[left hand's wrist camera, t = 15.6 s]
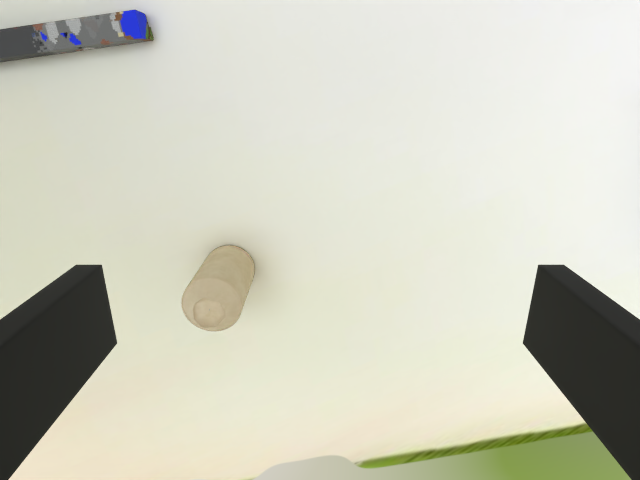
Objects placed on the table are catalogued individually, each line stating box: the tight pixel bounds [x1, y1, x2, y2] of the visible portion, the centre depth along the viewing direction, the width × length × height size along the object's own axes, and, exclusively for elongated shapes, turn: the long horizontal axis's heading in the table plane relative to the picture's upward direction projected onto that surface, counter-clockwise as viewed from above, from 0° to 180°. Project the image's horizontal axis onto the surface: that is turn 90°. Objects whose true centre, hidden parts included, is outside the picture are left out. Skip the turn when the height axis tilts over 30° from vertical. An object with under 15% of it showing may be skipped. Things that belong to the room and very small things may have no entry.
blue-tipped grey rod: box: [0, 10, 153, 62], centre depth 37 cm, size 2×2×20 cm
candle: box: [182, 245, 255, 331], centre depth 41 cm, size 6×6×10 cm
